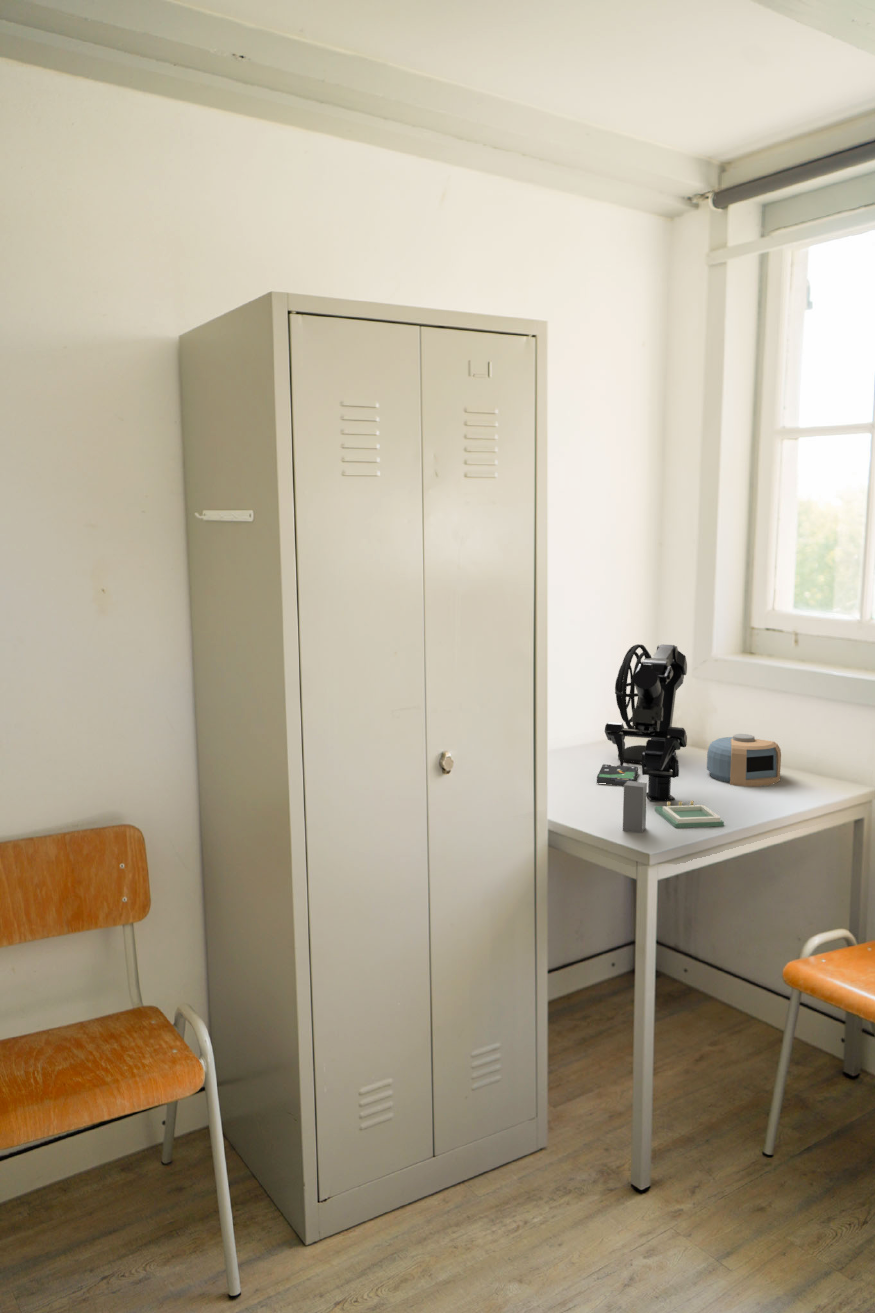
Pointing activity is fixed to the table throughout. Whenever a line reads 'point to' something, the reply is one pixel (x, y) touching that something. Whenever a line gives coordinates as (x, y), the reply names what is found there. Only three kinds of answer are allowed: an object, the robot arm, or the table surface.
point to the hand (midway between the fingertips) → (641, 767)
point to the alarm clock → (744, 760)
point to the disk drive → (617, 774)
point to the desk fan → (620, 690)
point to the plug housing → (634, 806)
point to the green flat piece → (689, 815)
